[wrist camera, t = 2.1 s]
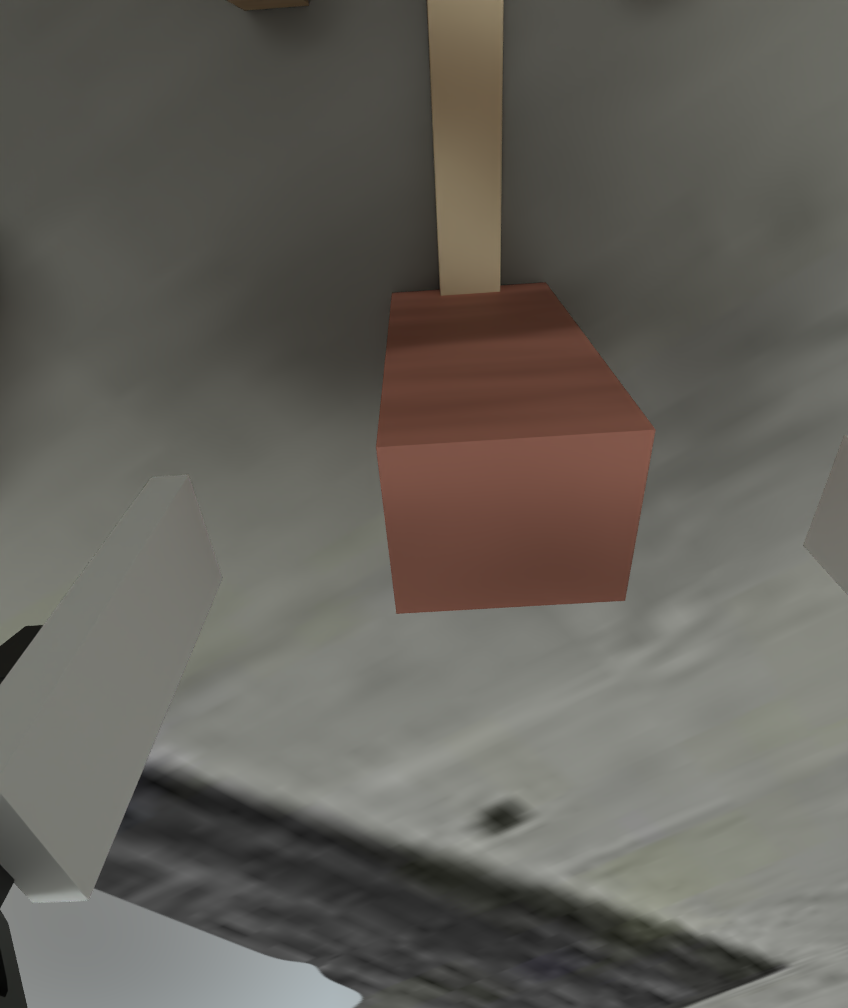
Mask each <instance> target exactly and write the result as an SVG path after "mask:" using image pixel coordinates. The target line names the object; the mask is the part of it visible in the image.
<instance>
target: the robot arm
mask: <svg viewBox="0 0 848 1008" xmlns="http://www.w3.org/2000/svg"><path fill="white" fill-rule="evenodd" d="M803 546H804V547H805V548H806V549H807V550H808V551H809V553H810V554H811V555H812V556H813V557H814V558H815V559H816V560H817V561H818V563H819V564H820V565H821V566H822V567H823V568H824V569H825V570H826V571H827V573H828V574H829V575H830V576H831V577H832V578H833V579H834V580H835V581H836V583H837V584H838V585H839V586H840V587H841V588H842V589H843V590H844V591H845V593H846V594H847V595H848V435H844V437H843V440H842V442H841V445H840V448H839V450H838V453H837V456H836V459H835V461H834V464H833V467H832V469H831V472H830V475H829V477H828V480H827V483H826V486H825V488H824V491H823V494H822V496H821V499H820V502H819V504H818V507H817V510H816V512H815V515H814V518H813V521H812V523H811V526H810V529H809V531H808V534H807V537H806V539H805V542H804V545H803ZM222 578H223V577H222V574H221V571H220V568H219V565H218V562H217V559H216V556H215V553H214V550H213V547H212V544H211V541H210V538H209V535H208V532H207V529H206V526H205V523H204V520H203V517H202V514H201V511H200V507H199V504H198V501H197V498H196V495H195V492H194V489H193V486H192V483H191V480H190V477H189V475H173V476H156V477H151V478H150V480H149V481H148V482H147V484H146V485H145V486H144V488H143V489H142V490H141V492H140V493H139V495H138V496H137V497H136V499H135V500H134V501H133V503H132V504H131V506H130V507H129V508H128V510H127V511H126V512H125V514H124V515H123V517H122V518H121V519H120V521H119V522H118V523H117V525H116V526H115V528H114V529H113V530H112V532H111V533H110V534H109V536H108V537H107V539H106V540H105V541H104V543H103V544H102V545H101V547H100V548H99V550H98V551H97V552H96V554H95V555H94V556H93V558H92V559H91V561H90V562H89V563H88V565H87V566H86V567H85V569H84V570H83V572H82V573H81V574H80V576H79V577H78V578H77V580H76V581H75V583H74V584H73V585H72V587H71V588H70V589H69V591H68V592H67V594H66V595H65V596H64V598H63V599H62V600H61V602H60V603H59V605H58V606H57V607H56V609H55V610H54V611H53V613H52V614H51V616H50V617H49V618H48V620H47V621H46V622H45V624H44V625H38V626H25V627H24V628H23V629H21V630H20V631H19V632H18V633H16V634H15V635H14V636H12V637H11V638H10V639H9V640H7V641H6V642H5V643H4V644H2V645H1V646H0V907H1V905H2V903H3V902H4V900H5V898H6V896H7V894H8V892H9V890H10V888H11V887H12V884H13V883H15V884H16V885H17V886H18V888H19V889H20V890H21V891H22V892H23V893H24V894H25V895H26V896H27V897H28V898H29V899H30V900H31V901H32V902H33V903H43V902H66V901H88V900H89V898H90V896H91V893H92V891H93V889H94V886H95V884H96V881H97V879H98V877H99V874H100V872H101V869H102V867H103V865H104V862H105V860H106V857H107V855H108V852H109V850H110V848H111V845H112V843H113V840H114V838H115V836H116V833H117V831H118V828H119V826H120V824H121V821H122V819H123V816H124V814H125V812H126V809H127V807H128V804H129V802H130V800H131V797H132V795H133V792H134V790H135V788H136V785H137V783H138V780H139V778H140V776H141V773H142V771H143V768H144V766H145V764H146V761H147V759H148V756H149V754H150V751H151V749H152V747H153V744H154V742H155V739H156V737H157V735H158V732H159V730H160V727H161V725H162V723H163V720H164V718H165V715H166V713H167V711H168V708H169V706H170V703H171V701H172V699H173V696H174V694H175V691H176V689H177V687H178V684H179V682H180V679H181V677H182V675H183V672H184V670H185V667H186V665H187V662H188V660H189V658H190V655H191V653H192V650H193V648H194V646H195V643H196V641H197V638H198V636H199V634H200V631H201V629H202V626H203V624H204V622H205V619H206V617H207V614H208V612H209V610H210V607H211V605H212V602H213V600H214V598H215V595H216V593H217V590H218V588H219V586H220V583H221V581H222ZM0 1008H27V1003H26V999H25V995H24V990H23V986H22V982H21V977H20V973H19V968H18V964H17V960H16V955H15V951H14V947H13V942H12V938H11V934H10V929H9V925H8V922H7V920H6V919H5V917H4V915H3V914H2V912H1V911H0Z"/></svg>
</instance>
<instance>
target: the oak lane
mask: <svg viewBox="0 0 848 1008" xmlns="http://www.w3.org/2000/svg"><path fill="white" fill-rule="evenodd" d="M227 1H228V2H230V3H232V4H234V5H236V6H237V7H239V8H241V9H243V10H245V11H246V10H258V9H271V8H284V7H297V6H309V1H308V0H227Z"/></svg>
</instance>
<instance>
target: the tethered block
mask: <svg viewBox="0 0 848 1008" xmlns="http://www.w3.org/2000/svg"><path fill="white" fill-rule="evenodd" d="M427 18H428V40H429V62H430V84H431V106H432V128H433V150H434V172H435V194H436V216H437V239H438V261H439V283H440V290H427V291H412V292H397V293H392V298H391V307H390V317H389V327H388V337H387V346H386V356H385V366H384V376H383V385H382V395H381V405H380V415H379V424H378V434H377V444H376V450H377V458H378V467H379V475H380V483H381V491H382V499H383V507H384V516H385V524H386V532H387V540H388V548H389V556H390V565H391V573H392V581H393V589H394V597H395V605H396V614H400V613H418V612H435V611H453V610H470V609H487V608H505V607H522V606H540V605H557V604H575V603H592V602H610V601H625V598H626V592H627V587H628V581H629V575H630V570H631V564H632V559H633V553H634V547H635V542H636V536H637V531H638V525H639V519H640V514H641V508H642V502H643V497H644V491H645V486H646V480H647V474H648V469H649V463H650V458H651V452H652V446H653V441H654V435H655V428H654V427H653V426H652V424H651V423H650V422H649V420H648V419H647V418H646V416H645V415H644V414H643V412H642V411H641V410H640V408H639V407H638V406H637V404H636V403H635V402H634V400H633V399H632V398H631V396H630V395H629V394H628V392H627V391H626V389H625V388H624V387H623V385H622V384H621V383H620V381H619V380H618V379H617V377H616V376H615V375H614V373H613V372H612V371H611V369H610V368H609V367H608V365H607V364H606V363H605V361H604V360H603V359H602V357H601V356H600V355H599V353H598V352H597V351H596V349H595V348H594V347H593V345H592V344H591V343H590V341H589V340H588V339H587V337H586V336H585V335H584V333H583V332H582V331H581V329H580V328H579V326H578V325H577V324H576V322H575V321H574V320H573V318H572V317H571V316H570V314H569V313H568V312H567V310H566V309H565V308H564V306H563V305H562V304H561V302H560V301H559V300H558V298H557V297H556V296H555V294H554V293H553V292H552V290H551V289H550V288H549V286H548V285H547V284H546V282H544V283H529V284H515V285H500V264H501V172H502V80H503V0H427Z"/></svg>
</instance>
